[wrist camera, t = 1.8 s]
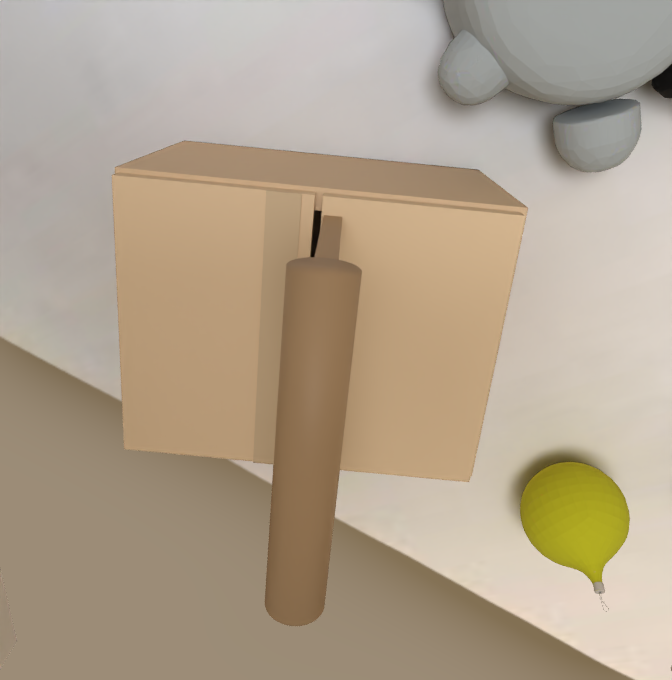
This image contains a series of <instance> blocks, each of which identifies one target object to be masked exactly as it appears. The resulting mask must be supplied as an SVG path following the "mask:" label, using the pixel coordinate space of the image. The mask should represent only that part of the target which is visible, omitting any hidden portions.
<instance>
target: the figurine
mask: <svg viewBox="0 0 672 680" xmlns="http://www.w3.org/2000/svg"><path fill="white" fill-rule="evenodd" d="M443 3H444V8H445V13H446V16H447V19H448V22H449V25H450V28H451V30H452V33H453V35H454V37H455V38H454V39H453V40H452V41H451V43H450V44H449V46H448V48H447V49H446V51H445V53H444V54H443V56H442V58H441V61H440V65H439V69H438V76H439V83H440V85H441V86H442V88H443V89H444V91H445V93H446V94H447V95H448V96H449V97H450V98H451V99H453V100H454V101H455V102H458V103H460V104H462V105H477V104H481V103H483V102H485V101H487V100H490V99H491V98H493V97H494V96H495V95H496V94H498V93H499V92H500V91H502V90H503V89H504V88H505V89H507V90H509V91H511V92H513V93H516V94H519V95H522V96H525V97H528V98H532V99H535V100H539V101H543V102H547V103H552V104H561V105H582V104H588V105H584V106H581V107H577V108H574V109H571V110H569V111H566V112H564V113H562V114H560V115H558V116H556V117H555V118H554V120H553V130H554V138H555V145H556V147H557V149H558V152H559V154H560V156H561V157H562V158H563V159H564V160H565V161H566V162H567V163H568V164H569V165H570V166H571V167H573V168H575V169H577V170H580V171H583V172H601V171H604V170H608V169H611V168H613V167H616V166H618V165H620V164H621V163H622V162H623V161H625V160H626V159H627V158H628V157H629V155H630V154H631V152H632V151H633V149H634V148H635V146H636V144H637V142H638V140H639V137H640V133H641V112H640V103H639V102H638V101H637V100H632V99H614V98H617V97H620V96H622V95H624V94H627V93H629V92H631V91H634V90H636V89H637V88H639V87H640V86H642V85H643V84H645V83H647V82H648V81H650V80H651V79H652V86H653V88H654V89H655V90H656V91H657V92H659V93H660V94H661V95H662V96H663V97H665V98H672V0H443ZM611 99H613V100H611ZM591 103H592V104H591Z"/></svg>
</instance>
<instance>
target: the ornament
mask: <svg viewBox="0 0 672 680" xmlns="http://www.w3.org/2000/svg"><path fill="white" fill-rule="evenodd" d="M520 514H521V521H522V525H523V528H524V531H525V533H526V535H527V537H528V538H529V540H530V542H531V543H532V544H533V546H534V547H535V548H536V549H537V550H538V551H539V552H540V553H541V554H542V555H544V556H545V557H547V558H548V559H550V560H552V561H553V562H555V563H558V564H560V565H563V566H566V567H570V568H574V569H577V570H579V571H581V572H583V573H584V574H585V575H586V576H587V577H588V578H589V579H590V580H591V582H592V583H593V587H594V591H595V593H597V594H599V595H600V594H602V593H604V592H605V589H604V585H603V583H602V572H603V568H604V566H605V564H606V563H607V562H608V561H609V560H610V559H611V558H612V557H613V556H614V555H615V554H616V553H617V552H618V550H619V549H620V548H621V546H622V545H623V543H624V542H625V540H626V538H627V535H628V531H629V521H630V518H629V510H628V506H627V503H626V500H625V497H624V495H623V494H622V492H621V490H620V489H619V487H618V486H617V485H616V483H615V482H614V481H613V480H612V479H611V478H610V477H608V476H607V475H606V474H604V473H603V472H602V471H600V470H599V469H596V468H594V467H592V466H589V465H587V464H583V463H577V462H562V463H557V464H553V465H550V466H548V467H546V468H544V469H543V470H541V471H540V472H538V473H537V474H536V475H535V476H534V477H533V478H532V479H531V480H530V481H529V483H528V484H527V486H526V487H525V490H524V492H523V495H522V498H521V503H520ZM600 599H602V598H600ZM601 603H602V602H601ZM603 603H604V602H603ZM602 606H603V605H602ZM607 608H608V607H607ZM603 610H604V609H603ZM605 612H607V611H605Z"/></svg>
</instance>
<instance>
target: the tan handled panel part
mask: <svg viewBox="0 0 672 680" xmlns="http://www.w3.org/2000/svg"><path fill="white" fill-rule="evenodd" d="M524 219H525V215H523V214H522V213H521V212H515V211H504V210H494V209H484V208H474V207H464V206H453V205H443V204H433V203H423V202H413V201H403V200H392V199H382V198H372V197H362V196H352V195H341V194H331V193H324V194H323V203H322V215H321V227H320V235H319V239H318V244H317V248H316V252H315V257H306V258H298V259H294V260H291V261H289V262H288V263H287V264H286V277H285V293H284V308H283V324H282V340H281V356H280V371H279V387H278V403H277V418H276V434H275V450H274V466H273V481H272V497H271V513H270V528H269V544H268V561H267V576H266V591H265V607H266V610H267V612H268V613H269V615H270V616H271V617H272V618H273V619H274V620H276V621H278V622H280V623H282V624H285V625H289V626H302V625H306V624H309V623H311V622H313V621H315V620H316V619H317V618H318V617H319V616H320V615H321V614H322V612H323V609H324V605H325V596H326V586H327V578H328V569H329V560H330V551H331V542H332V534H333V524H334V516H335V507H336V498H337V489H338V480H339V472H340V470H346V471H356V472H367V473H378V474H388V475H399V476H410V477H420V478H431V479H442V480H452V481H463V482H469V481H470V476H471V472H472V467H473V462H474V457H475V452H476V448H477V443H478V438H479V433H480V429H481V424H482V419H483V414H484V409H485V405H486V400H487V395H488V390H489V386H490V381H491V376H492V371H493V367H494V362H495V357H496V352H497V347H498V343H499V338H500V333H501V328H502V324H503V319H504V314H505V309H506V305H507V300H508V295H509V290H510V285H511V281H512V276H513V271H514V266H515V262H516V257H517V252H518V247H519V243H520V238H521V233H522V228H523V223H524Z"/></svg>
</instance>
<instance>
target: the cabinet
mask: <svg viewBox="0 0 672 680" xmlns="http://www.w3.org/2000/svg"><path fill="white" fill-rule="evenodd" d="M112 190H113V212H114V234H115V256H116V279H117V301H118V323H119V345H120V367H121V389H122V411H123V433H124V449H128V450H138V451H150V452H160V453H171V454H181V455H192V456H203V457H214V458H224V459H234V460H245V461H253V462H254V463H265V464H274V450H275V434H276V418H277V403H278V387H279V371H280V356H281V340H282V324H283V308H284V293H285V277H286V264H287V263H288V262H289V261H291V260H294V259H298V258H306V257H315V252H316V248H317V244H318V239H319V235H320V227H321V215H322V203H323V194H324V193H331V194H341V195H352V196H362V197H372V198H382V199H392V200H403V201H413V202H423V203H433V204H443V205H453V206H464V207H474V208H484V209H494V210H504V211H515V212H521V213H522V214H523V215H525V219H524V223H523V228H522V233H521V238H520V243H519V247H518V252H517V257H516V262H515V266H514V271H513V276H512V281H511V285H510V290H509V295H508V300H507V305H506V309H505V314H504V319H503V324H502V328H501V333H500V338H499V343H498V347H497V352H496V357H495V362H494V367H495V363H496V358H497V353H498V348H499V344H500V339H501V334H502V329H503V325H504V320H505V315H506V310H507V306H508V301H509V296H510V291H511V287H512V282H513V277H514V272H515V267H516V263H517V258H518V253H519V248H520V244H521V239H522V234H523V229H524V225H525V220H526V215H527V210H528V208H527V207H526V206H525V205H524V204H522V203H521V202H520V201H518V200H517V199H516V198H514V197H513V196H512V195H510V194H509V193H508V192H507V191H505V190H504V189H503V188H501V187H500V186H499V185H497V184H496V183H495V182H494V181H492V180H491V179H490V178H488V177H487V176H486V175H484V174H483V173H482V172H480V171H479V170H475V169H465V168H455V167H445V166H435V165H425V164H414V163H404V162H394V161H384V160H374V159H364V158H354V157H344V156H334V155H323V154H313V153H303V152H293V151H283V150H273V149H263V148H253V147H243V146H232V145H222V144H212V143H202V142H192V141H182V142H179V143H177V144H174V145H172V146H169V147H166V148H164V149H161V150H159V151H156V152H153V153H151V154H148V155H146V156H143V157H140V158H138V159H135V160H132V161H130V162H127V163H125V164H122V165H119V166H117V167H115V174H113V175H112ZM494 367H493V371H492V376H491V381H490V386H491V382H492V377H493V372H494ZM490 386H489V390H488V395H487V400H486V405H487V401H488V396H489V391H490ZM486 405H485V409H484V414H483V419H482V424H483V420H484V415H485V410H486ZM482 424H481V429H482ZM481 429H480V433H479V438H478V443H479V439H480V434H481ZM478 443H477V448H478ZM477 448H476V452H475V457H474V462H475V458H476V453H477ZM474 462H473V467H474ZM473 467H472V472H473ZM472 472H471V476H472Z"/></svg>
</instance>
